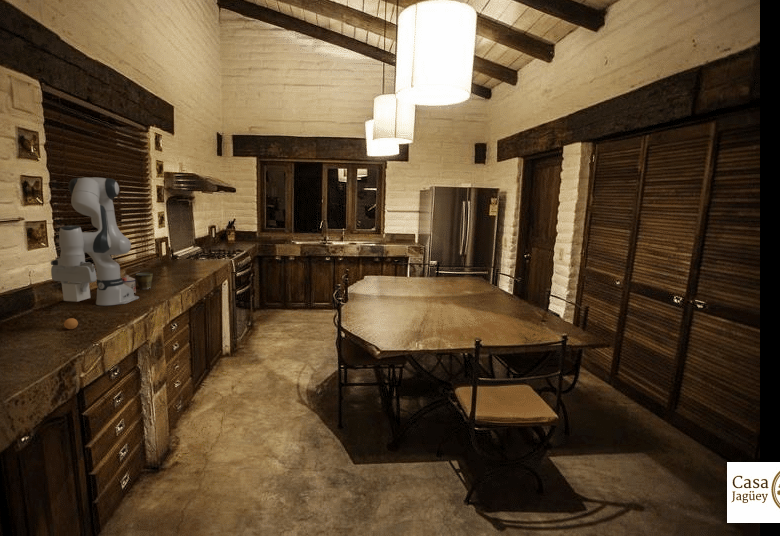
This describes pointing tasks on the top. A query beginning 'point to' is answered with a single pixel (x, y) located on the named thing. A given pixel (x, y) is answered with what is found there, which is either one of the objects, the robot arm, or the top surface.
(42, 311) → the top surface
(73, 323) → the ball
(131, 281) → the teacup with lid
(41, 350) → the top surface
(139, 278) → the ceramic cup
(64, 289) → the grey matte cube
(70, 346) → the top surface
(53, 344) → the top surface
